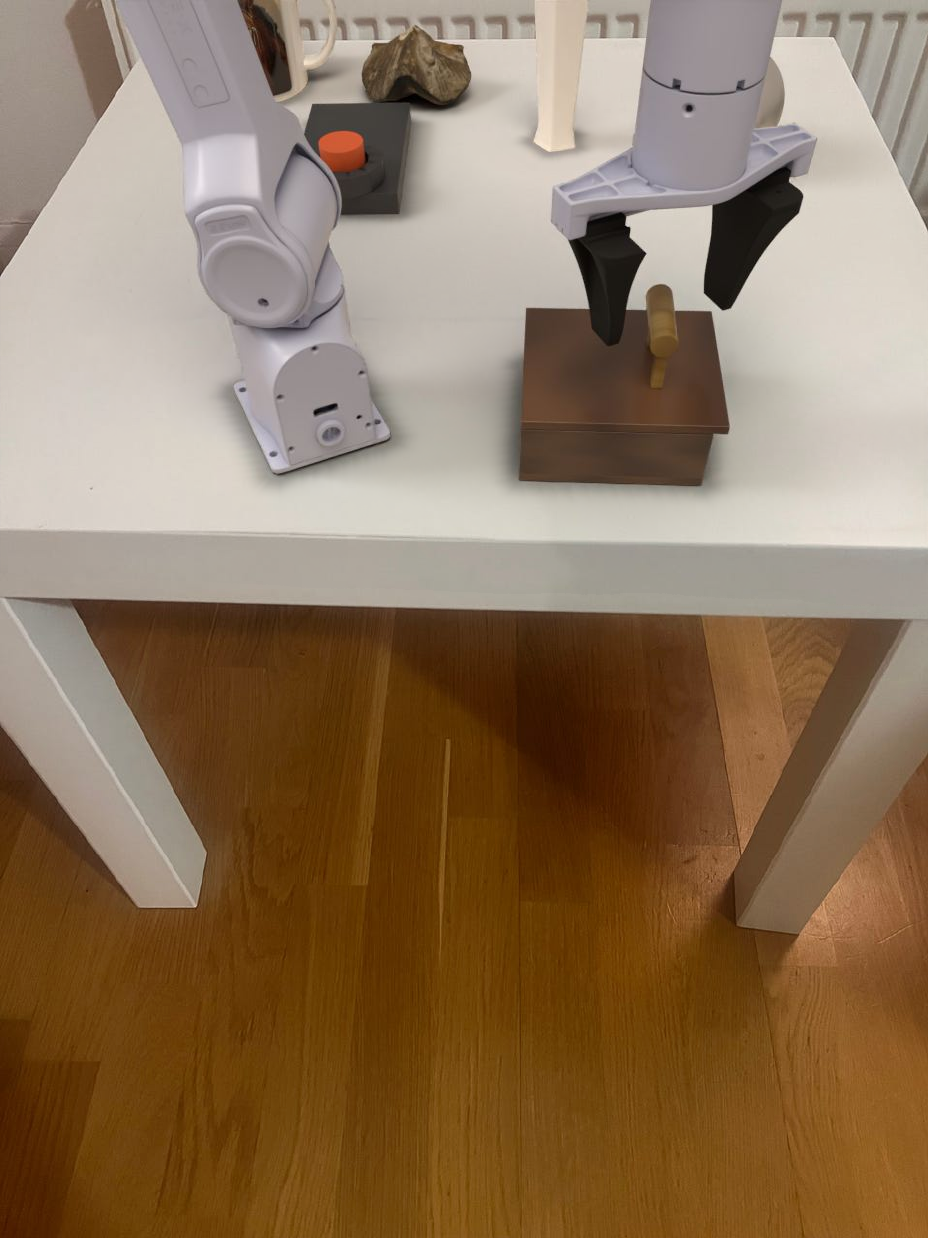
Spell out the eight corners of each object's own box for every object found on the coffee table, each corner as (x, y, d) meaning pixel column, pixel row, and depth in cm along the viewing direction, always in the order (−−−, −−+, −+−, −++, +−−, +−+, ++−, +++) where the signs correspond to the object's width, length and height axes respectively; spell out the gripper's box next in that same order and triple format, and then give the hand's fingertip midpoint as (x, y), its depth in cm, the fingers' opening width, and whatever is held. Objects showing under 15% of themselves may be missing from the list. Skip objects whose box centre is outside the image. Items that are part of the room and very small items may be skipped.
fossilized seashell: (485, 57, 89) (395, 59, 93) (459, 3, 83) (364, 8, 87) (463, 130, 89) (374, 129, 93) (435, 81, 83) (341, 82, 87)
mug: (261, 52, 97) (238, -76, 88) (350, 79, 93) (335, -52, 84) (188, 90, 92) (156, -41, 83) (278, 121, 88) (255, -13, 79)
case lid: (710, 318, 61) (723, 255, 57) (728, 434, 54) (744, 371, 51) (525, 315, 62) (527, 252, 58) (520, 429, 55) (522, 366, 51)
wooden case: (687, 370, 64) (697, 318, 61) (701, 486, 57) (714, 435, 54) (523, 366, 65) (525, 315, 62) (519, 480, 58) (520, 430, 55)
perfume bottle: (592, 143, 84) (609, -54, 72) (553, 158, 82) (564, -40, 70) (561, 124, 86) (572, -70, 74) (522, 138, 85) (527, -58, 73)
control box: (398, 219, 77) (395, 178, 74) (289, 220, 77) (282, 179, 74) (411, 123, 87) (408, 83, 84) (315, 124, 87) (309, 84, 85)
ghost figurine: (641, 156, 82) (658, 30, 74) (715, 122, 86) (738, -1, 78) (719, 197, 78) (745, 67, 70) (794, 159, 81) (826, 32, 73)
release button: (363, 173, 75) (361, 151, 74) (318, 174, 75) (315, 152, 74) (367, 151, 78) (365, 130, 76) (324, 152, 78) (321, 130, 76)
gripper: (781, 8, 48) (727, 252, 59) (527, 66, 44) (520, 313, 55) (871, 61, 44) (796, 312, 55) (600, 129, 40) (577, 382, 51)
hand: (662, 317), depth 55 cm, fingers open, 7 cm apart
